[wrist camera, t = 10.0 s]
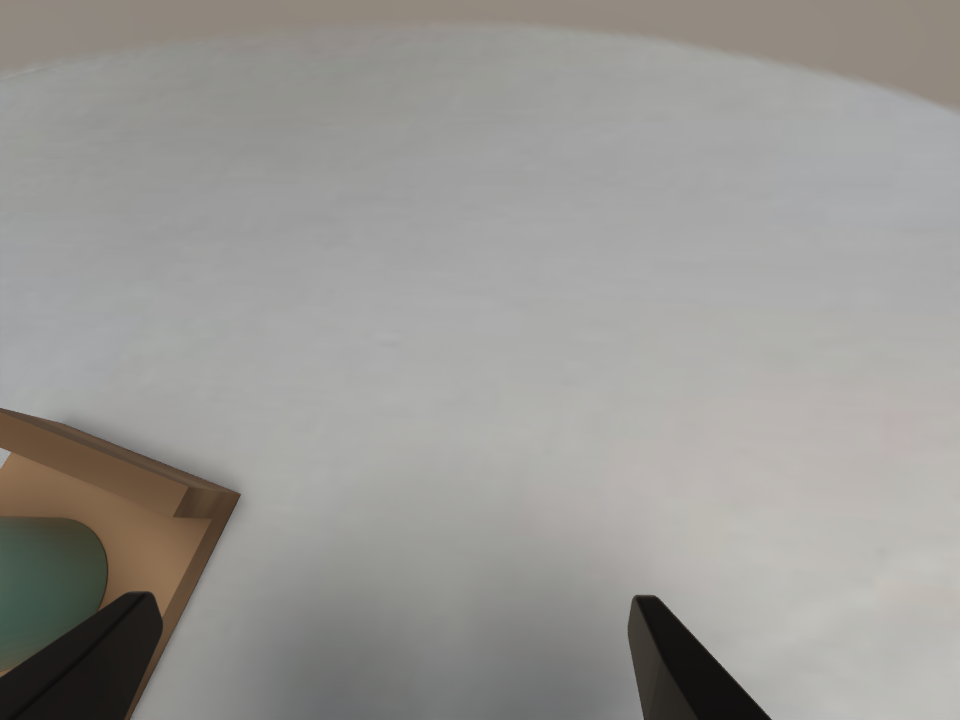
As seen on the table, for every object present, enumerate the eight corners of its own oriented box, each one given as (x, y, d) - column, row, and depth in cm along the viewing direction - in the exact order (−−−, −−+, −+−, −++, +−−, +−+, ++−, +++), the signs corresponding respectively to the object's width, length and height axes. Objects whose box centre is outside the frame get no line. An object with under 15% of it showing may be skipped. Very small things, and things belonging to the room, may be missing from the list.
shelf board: (67, 843, 20) (-47, 931, 15) (-141, 739, 21) (-302, 795, 16) (240, 494, 24) (188, 486, 19) (60, 423, 25) (-27, 401, 21)
